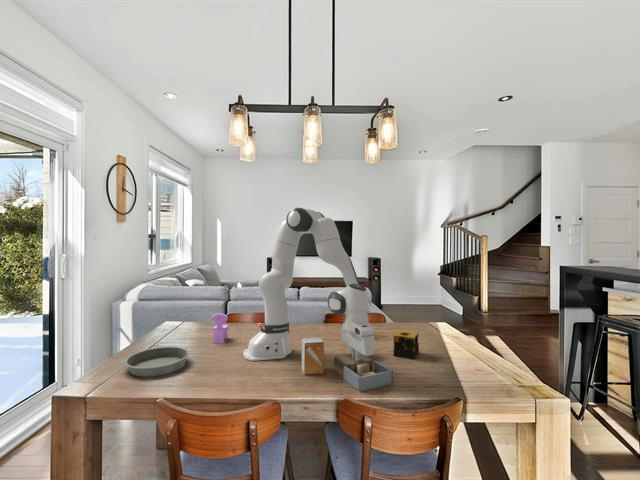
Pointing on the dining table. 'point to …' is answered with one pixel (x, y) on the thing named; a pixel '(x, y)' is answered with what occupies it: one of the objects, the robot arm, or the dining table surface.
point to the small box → (312, 355)
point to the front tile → (367, 373)
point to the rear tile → (362, 369)
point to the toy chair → (220, 328)
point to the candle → (406, 344)
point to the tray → (369, 378)
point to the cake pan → (156, 361)
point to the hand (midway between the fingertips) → (356, 359)
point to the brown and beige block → (350, 363)
